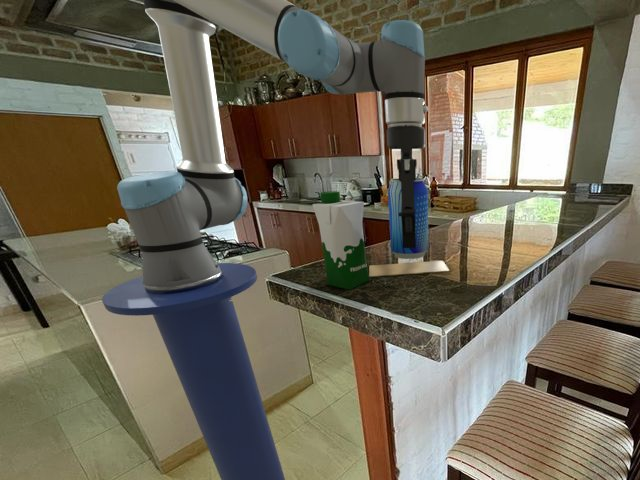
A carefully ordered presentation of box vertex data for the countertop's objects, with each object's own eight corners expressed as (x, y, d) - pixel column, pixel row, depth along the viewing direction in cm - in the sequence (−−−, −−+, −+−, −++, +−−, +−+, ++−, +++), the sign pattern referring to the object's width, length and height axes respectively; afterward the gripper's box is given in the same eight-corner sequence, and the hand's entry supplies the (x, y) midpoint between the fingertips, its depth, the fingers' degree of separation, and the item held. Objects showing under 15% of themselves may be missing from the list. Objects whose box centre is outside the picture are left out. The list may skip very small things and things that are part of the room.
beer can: (406, 248, 81) (404, 177, 74) (435, 253, 77) (435, 178, 70) (383, 256, 75) (378, 179, 68) (413, 262, 71) (411, 181, 64)
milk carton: (347, 274, 84) (336, 190, 75) (375, 280, 79) (367, 191, 71) (321, 285, 77) (306, 194, 69) (350, 292, 73) (338, 195, 64)
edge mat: (369, 277, 81) (369, 276, 81) (369, 266, 89) (369, 265, 89) (449, 271, 84) (449, 270, 84) (442, 261, 92) (442, 260, 92)
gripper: (428, 121, 55) (428, 254, 65) (422, 129, 74) (423, 232, 84) (382, 121, 55) (390, 255, 65) (389, 130, 74) (394, 232, 84)
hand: (409, 242), depth 75 cm, fingers closed on beer can, 8 cm apart
